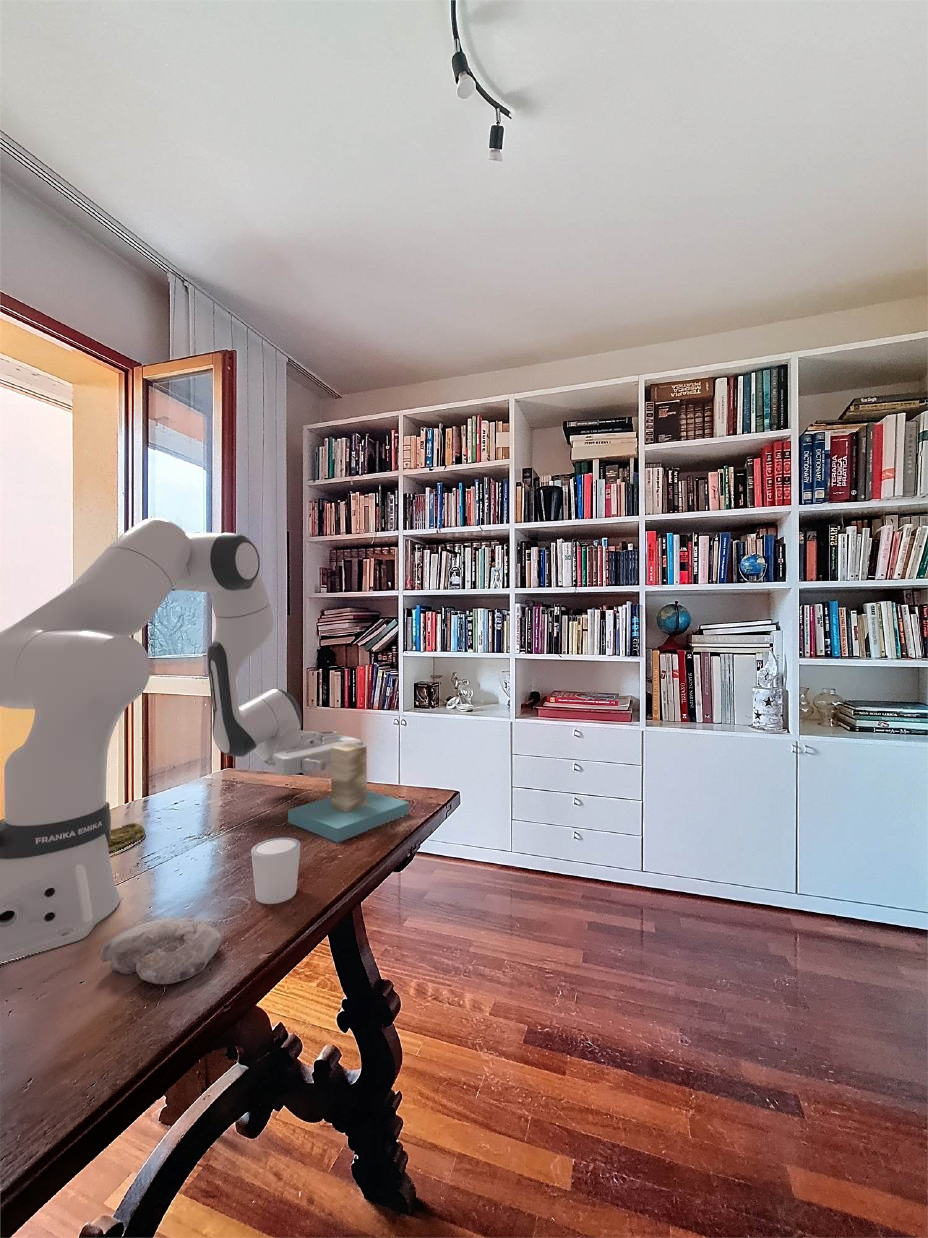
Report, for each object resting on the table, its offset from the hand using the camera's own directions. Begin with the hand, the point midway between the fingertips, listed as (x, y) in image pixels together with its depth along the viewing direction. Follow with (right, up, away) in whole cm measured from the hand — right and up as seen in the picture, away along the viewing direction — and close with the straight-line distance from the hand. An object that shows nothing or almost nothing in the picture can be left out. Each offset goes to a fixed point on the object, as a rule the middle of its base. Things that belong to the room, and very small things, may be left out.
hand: (342, 761), depth 110 cm
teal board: (+2, -11, -2) cm, 11 cm away
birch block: (+2, -9, -2) cm, 9 cm away
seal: (-38, -12, -14) cm, 43 cm away
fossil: (-10, -11, -48) cm, 50 cm away
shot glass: (-2, -11, -32) cm, 34 cm away
